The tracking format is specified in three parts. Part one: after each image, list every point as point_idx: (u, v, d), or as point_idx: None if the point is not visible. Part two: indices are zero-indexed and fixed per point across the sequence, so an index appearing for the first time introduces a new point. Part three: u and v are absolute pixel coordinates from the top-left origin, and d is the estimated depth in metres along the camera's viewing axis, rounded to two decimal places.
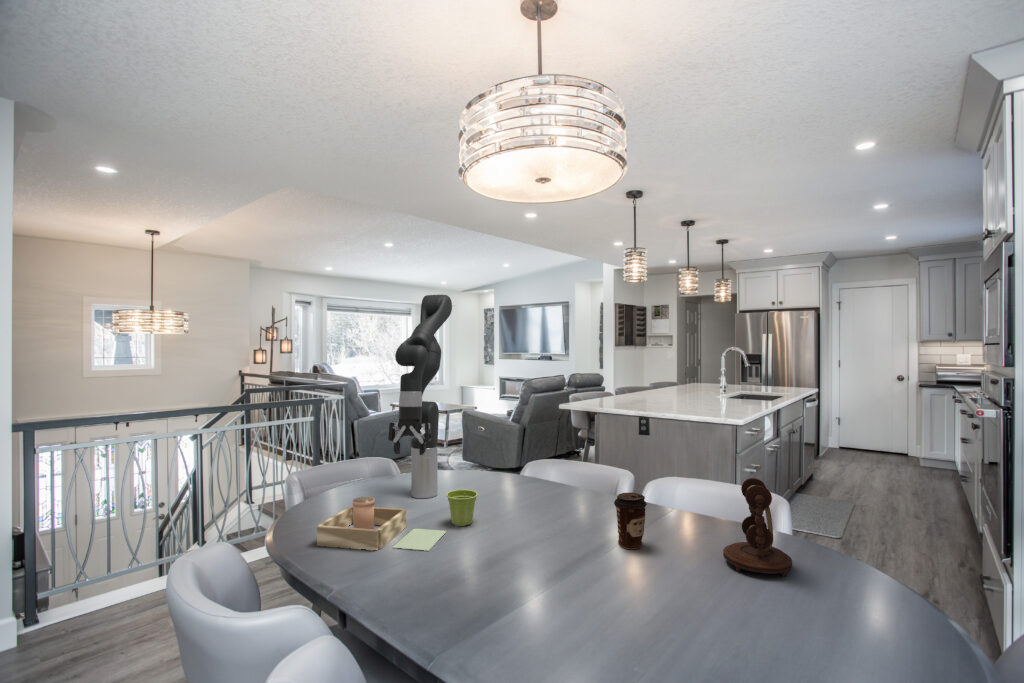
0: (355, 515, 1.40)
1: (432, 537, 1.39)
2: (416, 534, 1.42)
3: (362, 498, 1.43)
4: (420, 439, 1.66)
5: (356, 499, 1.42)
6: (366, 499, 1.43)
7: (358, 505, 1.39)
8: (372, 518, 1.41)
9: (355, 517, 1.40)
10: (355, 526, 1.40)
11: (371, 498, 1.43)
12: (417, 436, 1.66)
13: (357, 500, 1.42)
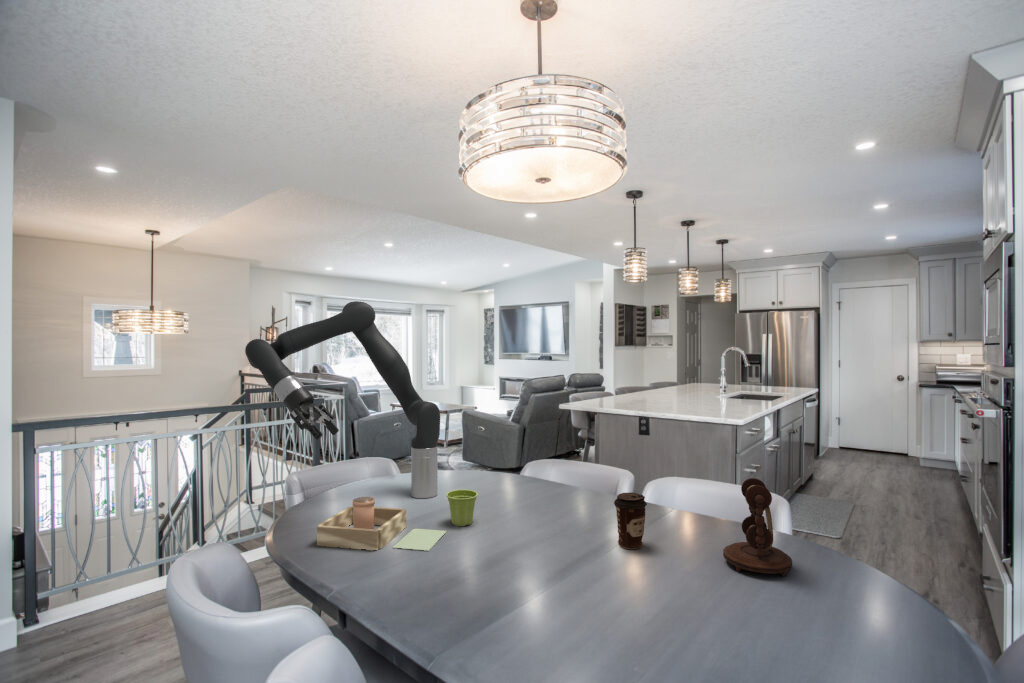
0: (355, 515, 1.40)
1: (432, 537, 1.39)
2: (416, 534, 1.42)
3: (362, 498, 1.43)
4: None
5: (356, 499, 1.42)
6: (366, 499, 1.43)
7: (358, 505, 1.39)
8: (372, 518, 1.41)
9: (355, 517, 1.40)
10: (355, 526, 1.40)
11: (371, 498, 1.43)
12: None
13: (357, 500, 1.42)
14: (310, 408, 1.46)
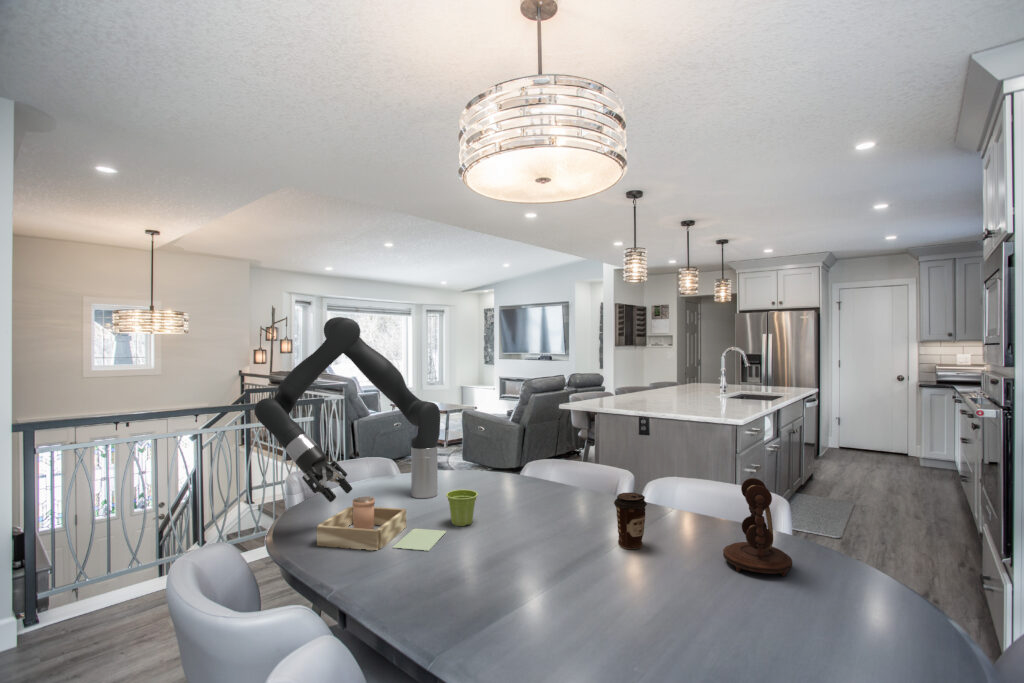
0: (355, 515, 1.40)
1: (432, 537, 1.39)
2: (416, 534, 1.42)
3: (362, 498, 1.43)
4: None
5: (356, 499, 1.42)
6: (366, 499, 1.43)
7: (358, 505, 1.39)
8: (372, 518, 1.41)
9: (355, 517, 1.40)
10: (355, 526, 1.40)
11: (371, 498, 1.43)
12: None
13: (357, 500, 1.42)
14: (323, 468, 1.43)
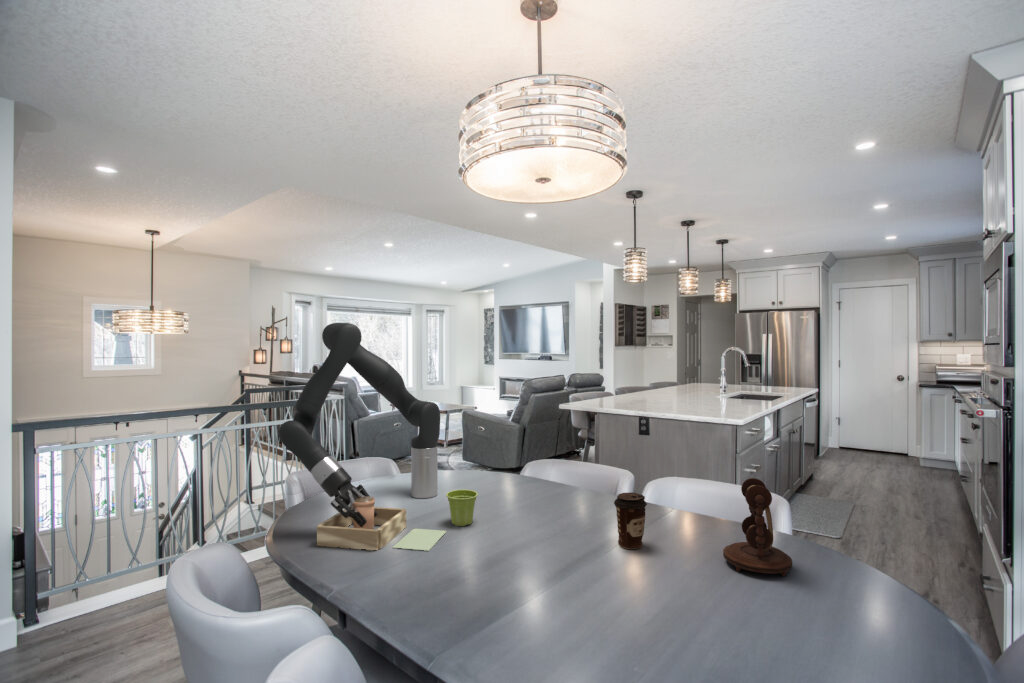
0: None
1: (432, 537, 1.39)
2: (416, 534, 1.42)
3: (362, 498, 1.43)
4: None
5: (356, 499, 1.42)
6: (367, 499, 1.43)
7: (358, 505, 1.39)
8: (372, 518, 1.41)
9: None
10: (355, 526, 1.40)
11: (371, 498, 1.43)
12: None
13: (357, 499, 1.42)
14: (349, 492, 1.41)
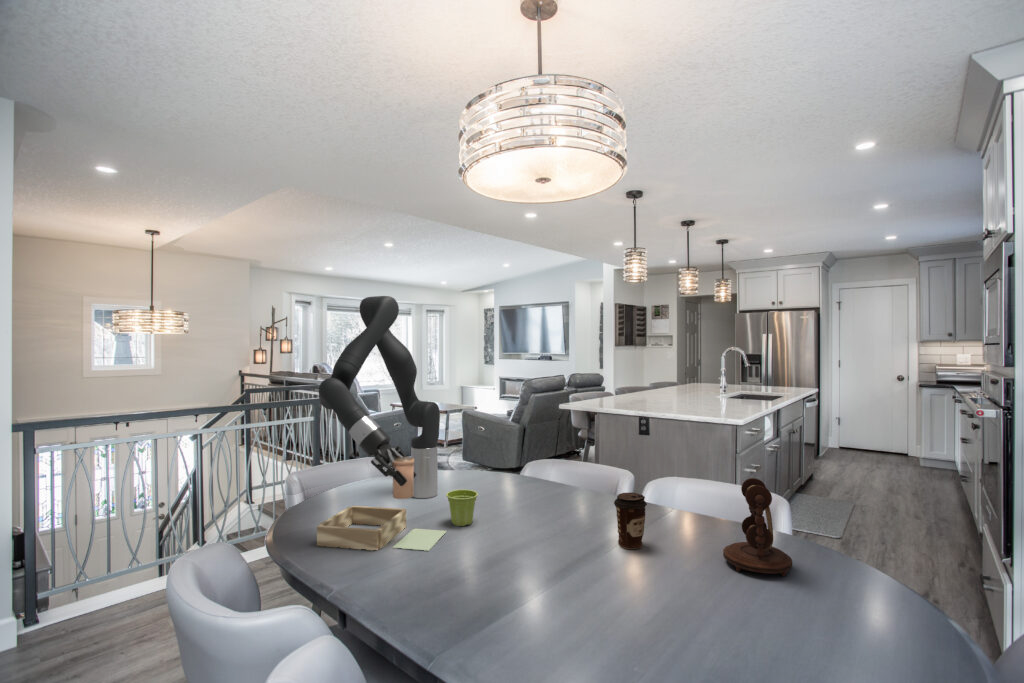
0: None
1: (432, 537, 1.39)
2: (416, 534, 1.42)
3: (401, 458, 1.41)
4: None
5: (395, 459, 1.40)
6: (406, 459, 1.40)
7: (398, 464, 1.37)
8: (412, 478, 1.39)
9: None
10: (395, 485, 1.37)
11: (410, 458, 1.41)
12: None
13: (397, 459, 1.39)
14: (388, 451, 1.39)
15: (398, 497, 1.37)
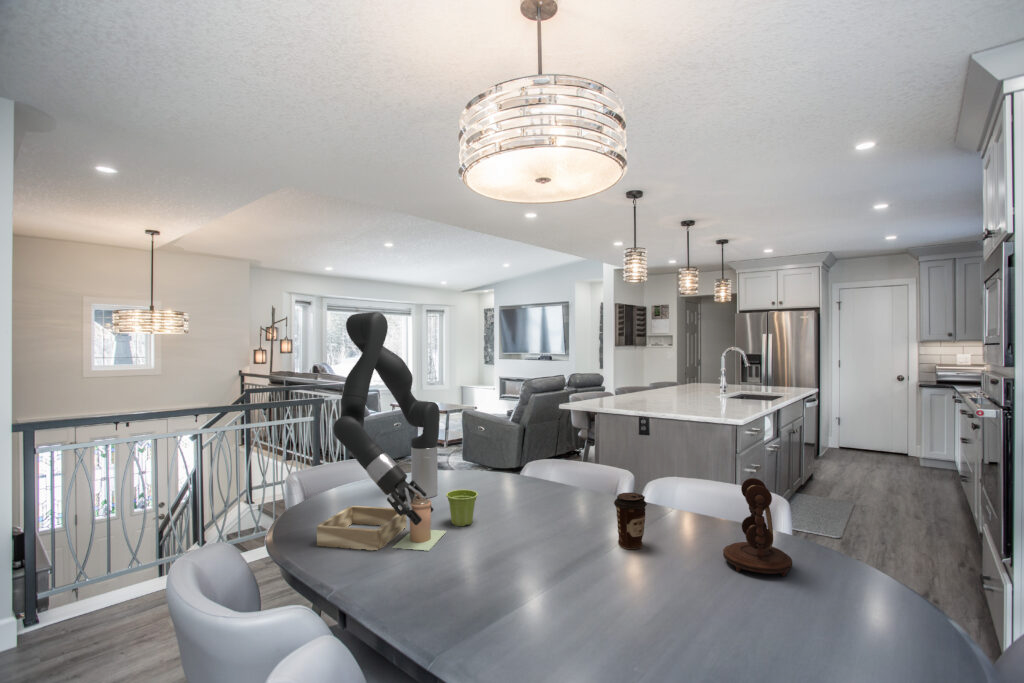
0: None
1: (432, 537, 1.39)
2: None
3: (418, 500, 1.40)
4: None
5: (412, 501, 1.39)
6: (423, 501, 1.39)
7: (416, 507, 1.36)
8: (429, 521, 1.38)
9: None
10: (412, 529, 1.36)
11: (427, 500, 1.40)
12: None
13: (414, 502, 1.38)
14: (405, 489, 1.38)
15: (416, 541, 1.36)
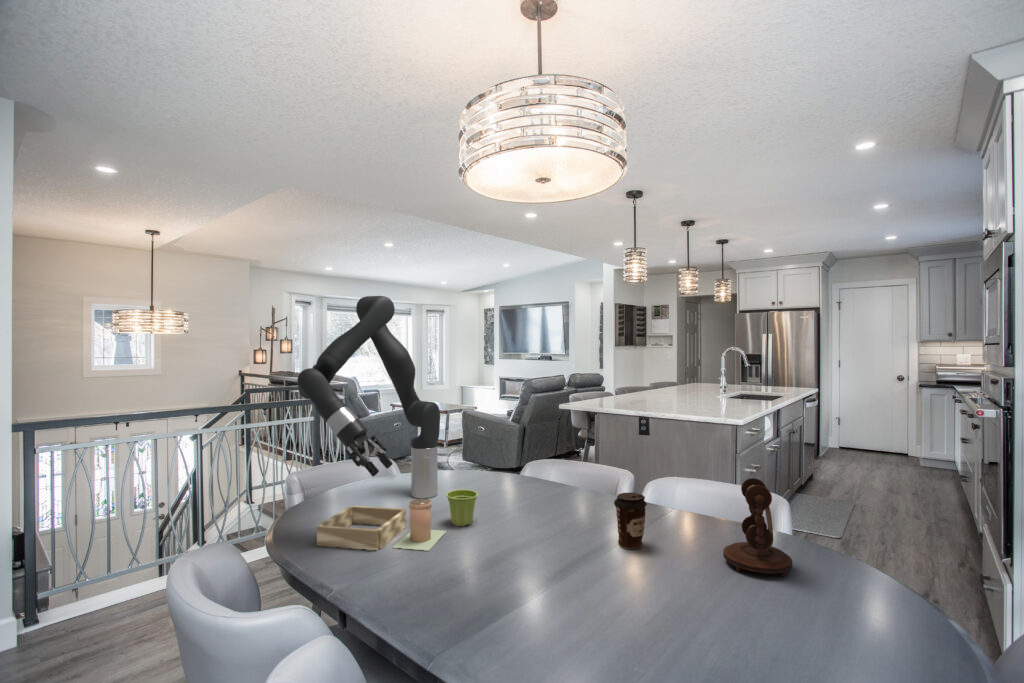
0: (412, 518, 1.36)
1: (432, 537, 1.39)
2: None
3: (418, 500, 1.40)
4: None
5: (412, 501, 1.39)
6: (423, 501, 1.39)
7: (416, 507, 1.36)
8: (429, 521, 1.38)
9: (412, 520, 1.36)
10: (412, 529, 1.36)
11: (427, 500, 1.40)
12: None
13: (414, 502, 1.38)
14: (365, 442, 1.41)
15: (416, 541, 1.36)
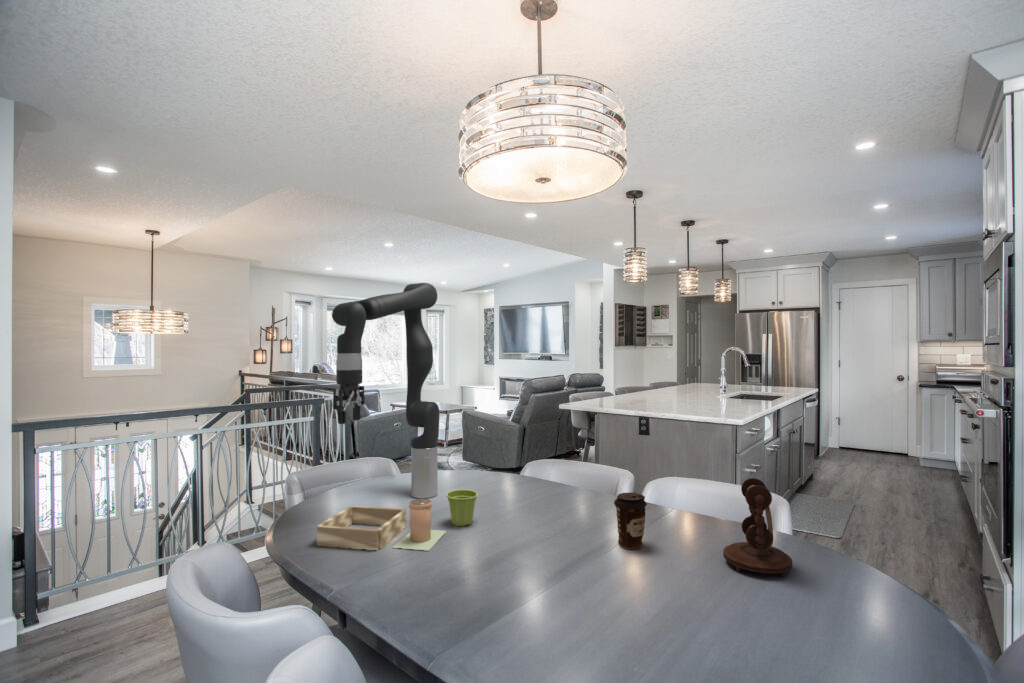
0: (412, 518, 1.36)
1: (432, 537, 1.39)
2: None
3: (418, 500, 1.40)
4: None
5: (412, 501, 1.39)
6: (423, 501, 1.39)
7: (416, 507, 1.36)
8: (429, 521, 1.38)
9: (412, 520, 1.36)
10: (412, 529, 1.36)
11: (428, 500, 1.40)
12: None
13: (414, 502, 1.38)
14: (352, 392, 1.52)
15: (416, 541, 1.36)
